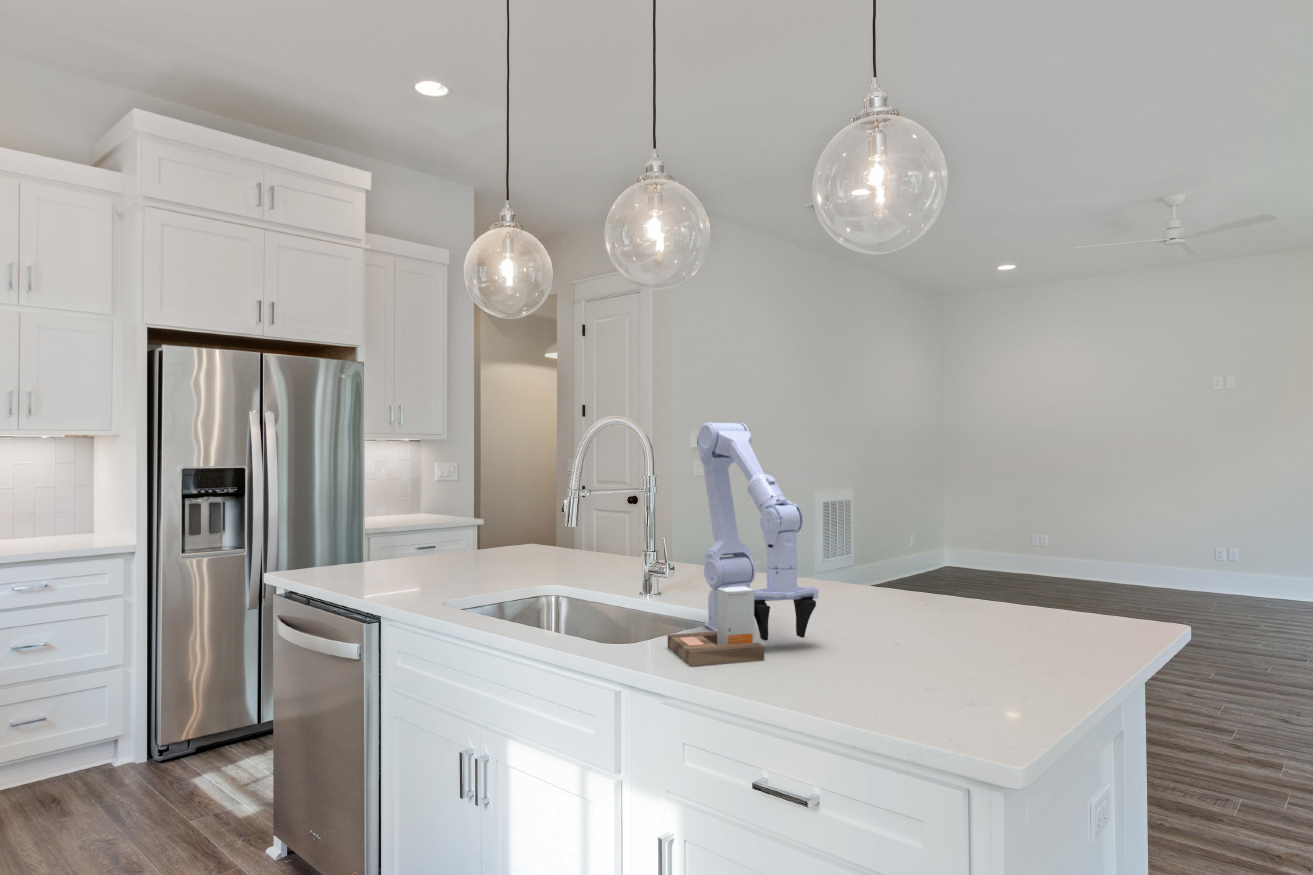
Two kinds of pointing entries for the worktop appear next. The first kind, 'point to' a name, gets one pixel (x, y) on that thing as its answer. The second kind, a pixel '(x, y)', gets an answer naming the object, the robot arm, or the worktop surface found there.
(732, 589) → the skincare box
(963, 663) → the worktop surface
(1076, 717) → the worktop surface
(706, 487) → the robot arm
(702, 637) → the rack board
